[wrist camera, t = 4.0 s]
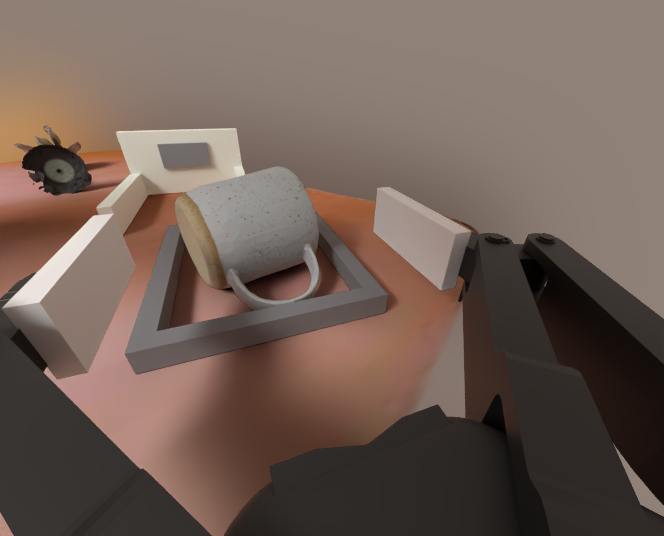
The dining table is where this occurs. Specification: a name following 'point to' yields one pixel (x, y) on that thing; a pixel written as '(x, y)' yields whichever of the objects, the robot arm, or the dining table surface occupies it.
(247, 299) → the ceramic mug
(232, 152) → the mug dock
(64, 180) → the artificial flower
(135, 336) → the gray rectangular frame
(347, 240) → the dining table surface
